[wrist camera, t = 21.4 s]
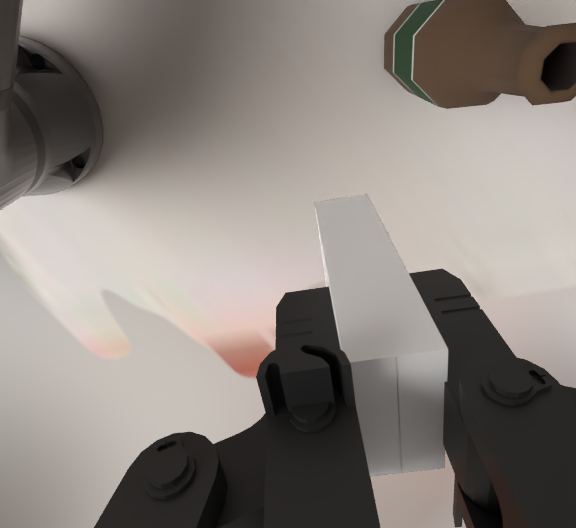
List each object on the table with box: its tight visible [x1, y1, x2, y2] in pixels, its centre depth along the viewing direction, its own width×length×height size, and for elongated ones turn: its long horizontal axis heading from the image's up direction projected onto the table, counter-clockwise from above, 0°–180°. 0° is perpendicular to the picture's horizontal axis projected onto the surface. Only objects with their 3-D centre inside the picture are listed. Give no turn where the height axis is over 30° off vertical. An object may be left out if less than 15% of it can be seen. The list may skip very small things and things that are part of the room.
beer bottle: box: [384, 0, 576, 109], centre depth 30 cm, size 8×8×24 cm
